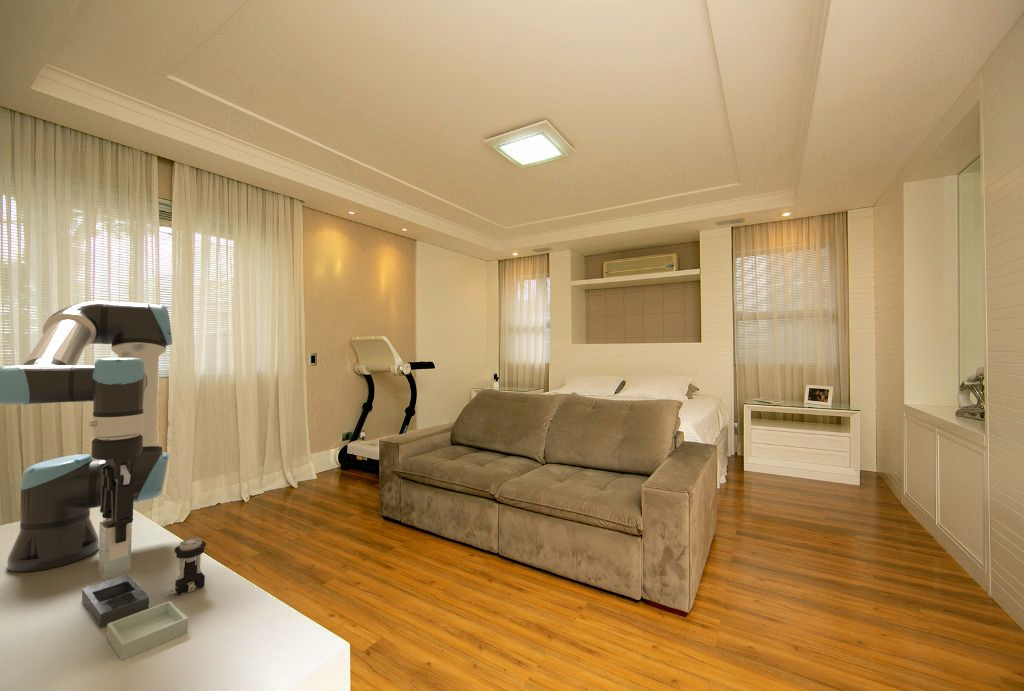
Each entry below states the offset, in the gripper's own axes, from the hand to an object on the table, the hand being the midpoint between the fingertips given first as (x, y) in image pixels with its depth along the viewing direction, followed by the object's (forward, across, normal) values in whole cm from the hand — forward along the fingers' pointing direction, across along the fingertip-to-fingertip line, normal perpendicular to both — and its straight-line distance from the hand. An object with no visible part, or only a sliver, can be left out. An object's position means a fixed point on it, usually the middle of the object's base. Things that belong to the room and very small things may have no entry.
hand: (115, 553), depth 87 cm
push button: (+10, +6, +10) cm, 15 cm away
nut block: (+4, 0, 0) cm, 4 cm away
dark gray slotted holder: (+10, +2, 0) cm, 10 cm away
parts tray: (+9, +18, +1) cm, 20 cm away
